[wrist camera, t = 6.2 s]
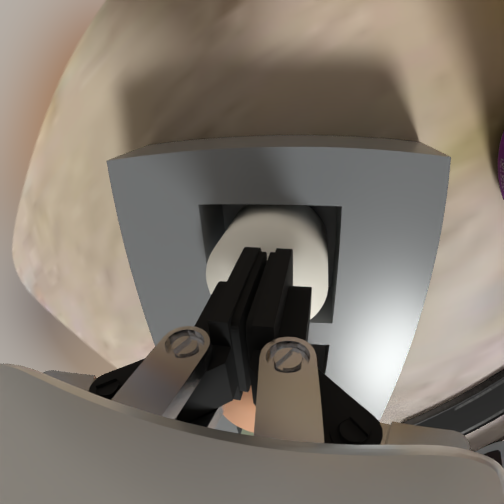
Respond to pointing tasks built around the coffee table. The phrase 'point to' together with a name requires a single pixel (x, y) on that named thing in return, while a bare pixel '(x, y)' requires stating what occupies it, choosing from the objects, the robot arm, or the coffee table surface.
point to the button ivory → (276, 245)
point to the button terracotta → (243, 411)
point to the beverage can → (501, 165)
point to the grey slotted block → (330, 212)
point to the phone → (467, 408)
